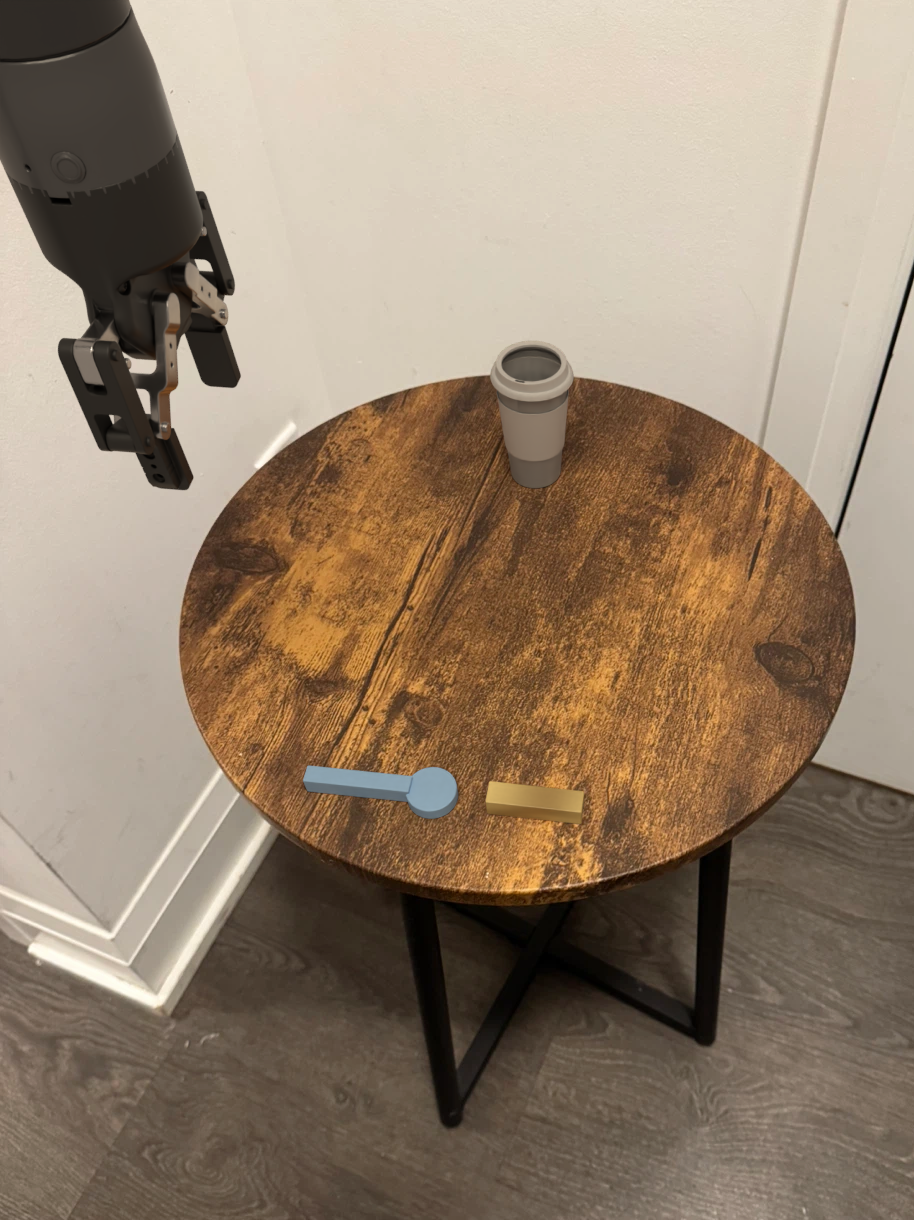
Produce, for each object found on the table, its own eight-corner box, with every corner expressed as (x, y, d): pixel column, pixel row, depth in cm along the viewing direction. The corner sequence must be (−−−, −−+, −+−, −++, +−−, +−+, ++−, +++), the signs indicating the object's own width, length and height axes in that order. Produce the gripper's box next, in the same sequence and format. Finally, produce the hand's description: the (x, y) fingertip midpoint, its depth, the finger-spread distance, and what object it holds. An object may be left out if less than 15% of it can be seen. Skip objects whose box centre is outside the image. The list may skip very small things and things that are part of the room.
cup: (487, 486, 96) (476, 377, 86) (513, 440, 99) (506, 330, 89) (559, 503, 94) (557, 395, 84) (583, 456, 97) (584, 346, 88)
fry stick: (486, 814, 76) (485, 801, 75) (490, 793, 77) (489, 780, 76) (581, 824, 75) (581, 812, 74) (584, 803, 76) (584, 791, 75)
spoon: (302, 805, 77) (298, 794, 76) (315, 762, 79) (311, 751, 78) (453, 821, 76) (451, 811, 75) (462, 777, 78) (460, 766, 77)
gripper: (70, 58, 49) (178, 349, 63) (-69, 224, 41) (88, 517, 55) (221, 63, 49) (298, 357, 62) (108, 234, 41) (224, 528, 54)
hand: (199, 432), depth 58 cm, fingers open, 8 cm apart
